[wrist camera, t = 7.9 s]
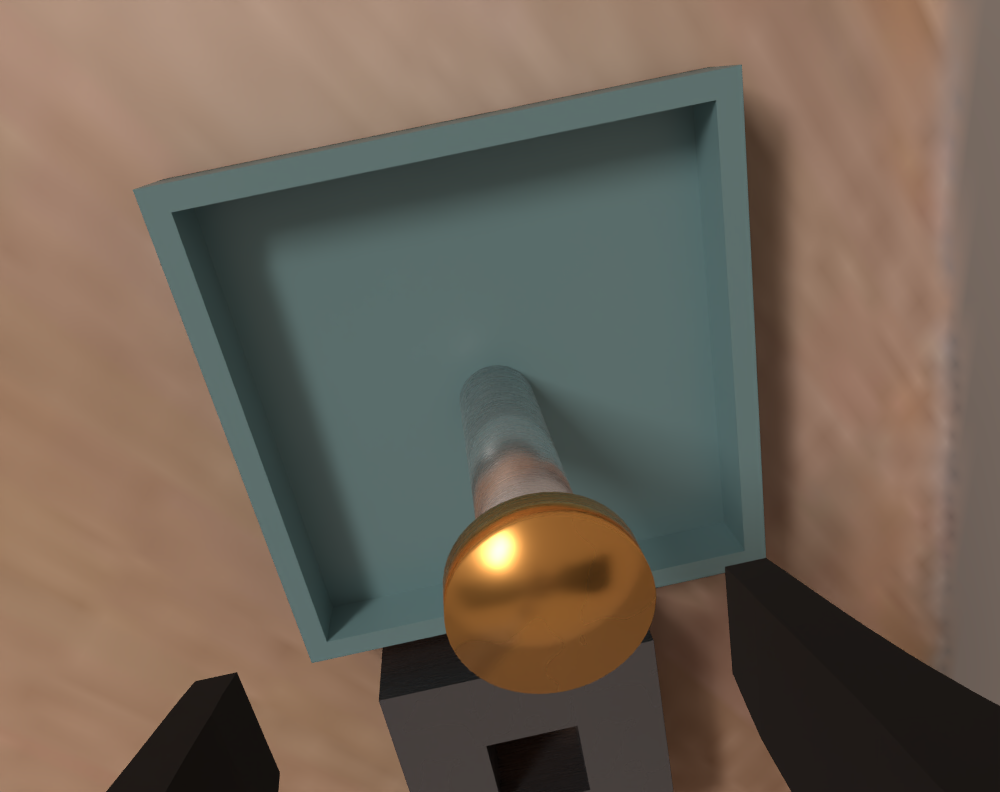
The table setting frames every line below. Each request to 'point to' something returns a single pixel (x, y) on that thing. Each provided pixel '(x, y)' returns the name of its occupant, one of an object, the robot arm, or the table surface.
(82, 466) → the table surface
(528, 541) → the steel pin
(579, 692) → the block
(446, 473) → the tray
